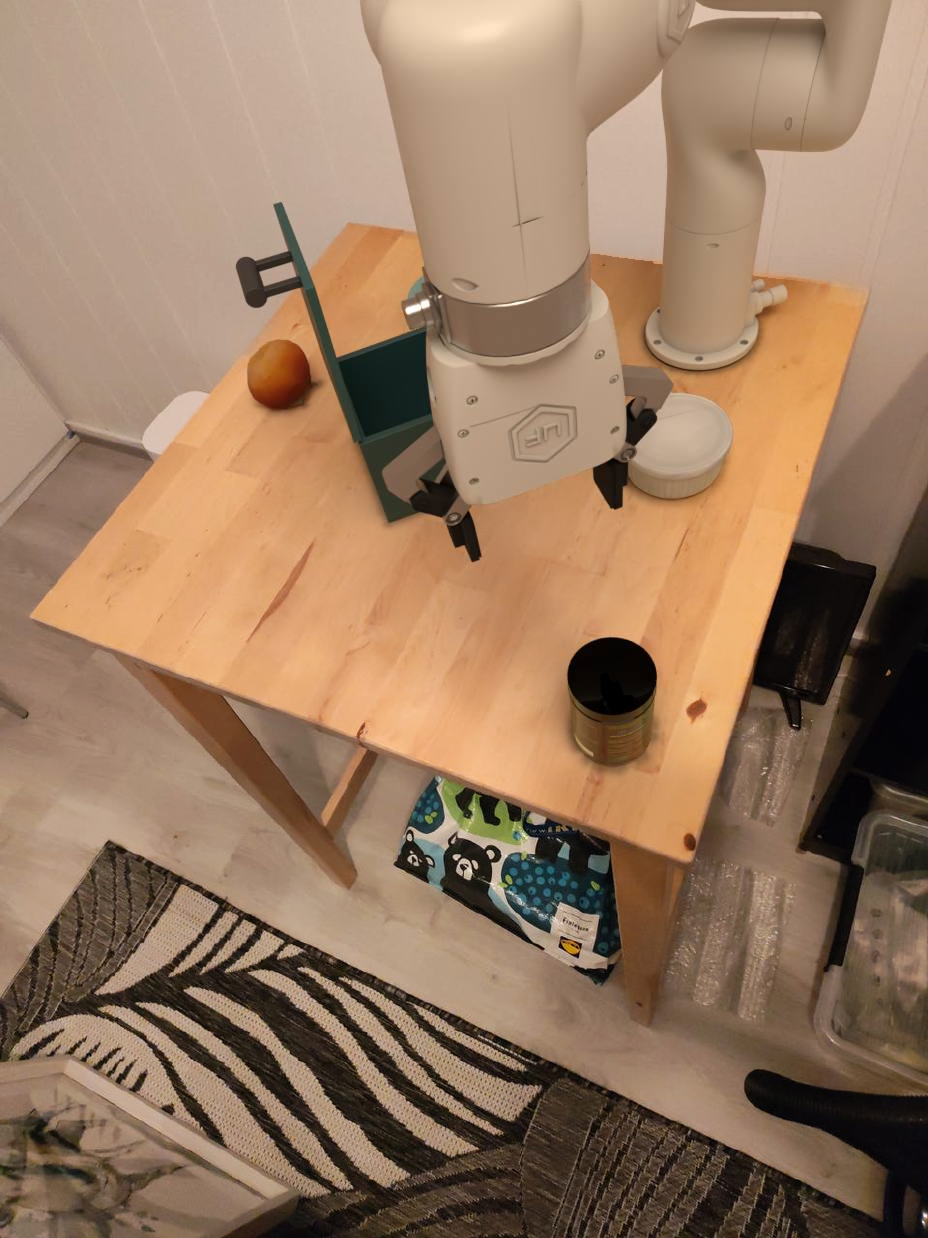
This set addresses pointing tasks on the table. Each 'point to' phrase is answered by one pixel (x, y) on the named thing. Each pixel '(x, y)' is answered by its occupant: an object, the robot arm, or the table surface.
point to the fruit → (279, 374)
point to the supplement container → (612, 699)
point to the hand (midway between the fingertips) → (539, 519)
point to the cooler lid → (259, 294)
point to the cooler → (390, 406)
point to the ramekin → (682, 448)
